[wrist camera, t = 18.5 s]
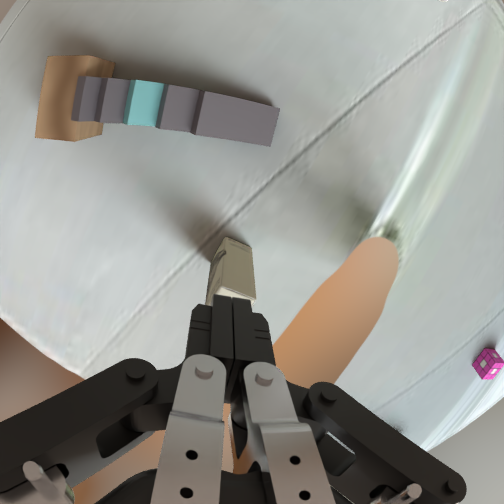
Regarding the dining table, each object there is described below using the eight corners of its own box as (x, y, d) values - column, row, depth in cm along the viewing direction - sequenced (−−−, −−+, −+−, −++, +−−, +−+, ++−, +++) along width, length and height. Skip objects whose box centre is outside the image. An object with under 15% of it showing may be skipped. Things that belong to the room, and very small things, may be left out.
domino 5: (263, 144, 39) (190, 132, 34) (272, 107, 37) (199, 90, 31) (270, 146, 38) (195, 134, 32) (280, 108, 36) (205, 91, 30)
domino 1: (132, 119, 37) (70, 120, 28) (140, 83, 34) (78, 76, 26) (140, 121, 36) (78, 121, 27) (148, 83, 34) (86, 76, 25)
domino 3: (195, 128, 38) (122, 122, 31) (204, 91, 36) (130, 79, 29) (202, 130, 37) (127, 124, 30) (211, 92, 35) (136, 79, 28)
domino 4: (229, 136, 38) (155, 127, 32) (238, 98, 36) (164, 84, 30) (236, 138, 37) (159, 129, 31) (245, 100, 35) (169, 84, 29)
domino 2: (163, 124, 37) (94, 121, 29) (171, 87, 35) (102, 77, 27) (170, 125, 36) (99, 122, 29) (179, 87, 34) (108, 77, 27)
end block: (65, 130, 36) (34, 137, 29) (77, 62, 32) (47, 56, 25) (101, 134, 37) (74, 141, 30) (115, 63, 33) (89, 55, 26)
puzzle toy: (484, 347, 60) (495, 362, 55) (494, 349, 61) (505, 363, 56) (471, 364, 62) (481, 379, 57) (482, 365, 63) (492, 379, 58)
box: (225, 234, 44) (221, 282, 33) (253, 247, 45) (258, 298, 34) (209, 265, 46) (201, 319, 34) (236, 276, 47) (236, 333, 36)
